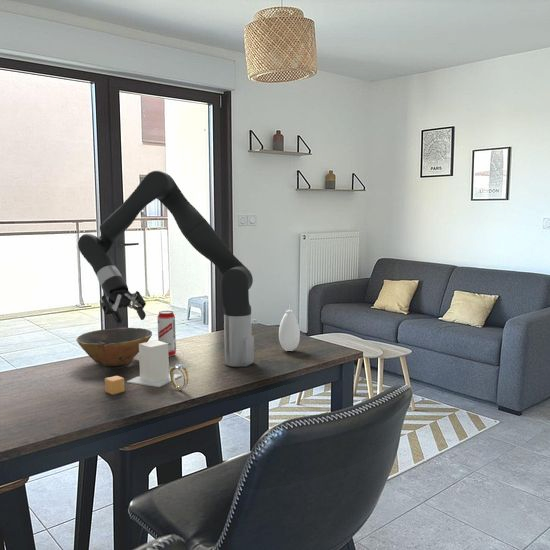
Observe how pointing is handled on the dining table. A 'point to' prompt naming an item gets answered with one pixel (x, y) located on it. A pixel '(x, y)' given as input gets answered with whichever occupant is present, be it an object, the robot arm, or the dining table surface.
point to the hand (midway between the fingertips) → (132, 320)
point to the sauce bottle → (289, 331)
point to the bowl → (113, 344)
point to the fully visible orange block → (114, 385)
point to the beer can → (167, 330)
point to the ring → (184, 372)
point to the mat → (156, 384)
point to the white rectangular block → (154, 361)
